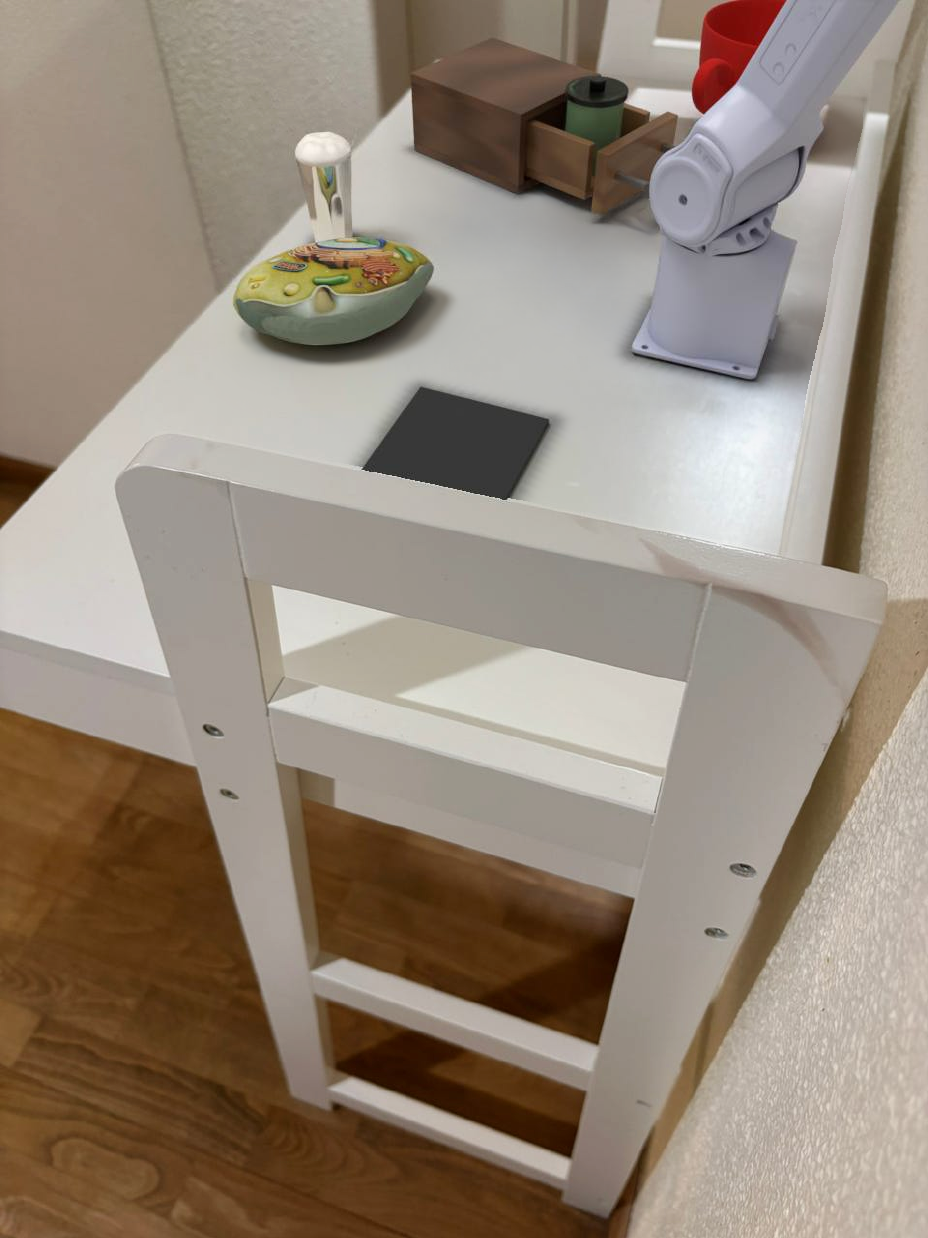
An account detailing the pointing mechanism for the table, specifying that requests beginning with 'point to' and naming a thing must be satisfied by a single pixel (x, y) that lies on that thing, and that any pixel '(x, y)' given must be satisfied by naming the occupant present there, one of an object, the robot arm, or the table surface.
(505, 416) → the mat
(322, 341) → the cell model
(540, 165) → the drawer
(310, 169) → the milkshake
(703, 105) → the ceramic cup
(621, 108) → the pot
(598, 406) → the table surface
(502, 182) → the cabinet
